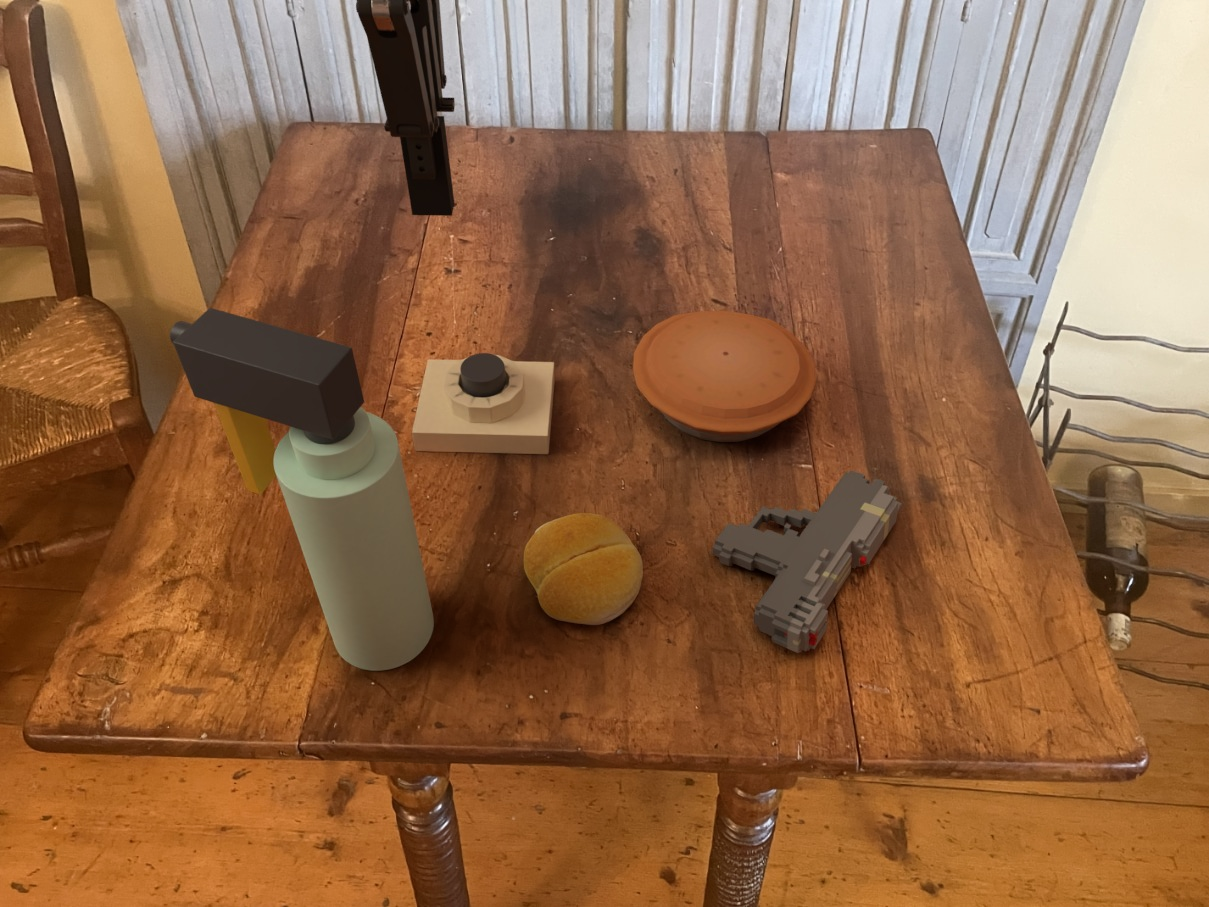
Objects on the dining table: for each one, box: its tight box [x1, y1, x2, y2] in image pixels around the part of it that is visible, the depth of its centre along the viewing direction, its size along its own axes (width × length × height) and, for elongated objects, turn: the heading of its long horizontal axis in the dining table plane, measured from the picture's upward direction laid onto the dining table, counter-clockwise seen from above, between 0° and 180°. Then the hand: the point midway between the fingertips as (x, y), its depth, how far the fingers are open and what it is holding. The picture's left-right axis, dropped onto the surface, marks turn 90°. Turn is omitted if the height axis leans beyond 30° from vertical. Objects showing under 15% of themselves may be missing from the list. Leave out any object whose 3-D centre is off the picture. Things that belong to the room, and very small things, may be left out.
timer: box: [411, 354, 556, 455], centre depth 83 cm, size 11×9×4 cm
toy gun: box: [712, 469, 903, 654], centre depth 73 cm, size 4×16×10 cm
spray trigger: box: [213, 403, 277, 496], centre depth 59 cm, size 1×2×8 cm, turn 159°
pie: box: [632, 309, 817, 443], centre depth 84 cm, size 15×16×5 cm
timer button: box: [460, 352, 506, 398], centre depth 81 cm, size 4×4×2 cm
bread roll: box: [523, 512, 644, 626], centre depth 71 cm, size 8×9×4 cm
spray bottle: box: [169, 307, 435, 672], centre depth 61 cm, size 12×7×25 cm, turn 69°
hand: (433, 209), depth 68 cm, fingers closed
